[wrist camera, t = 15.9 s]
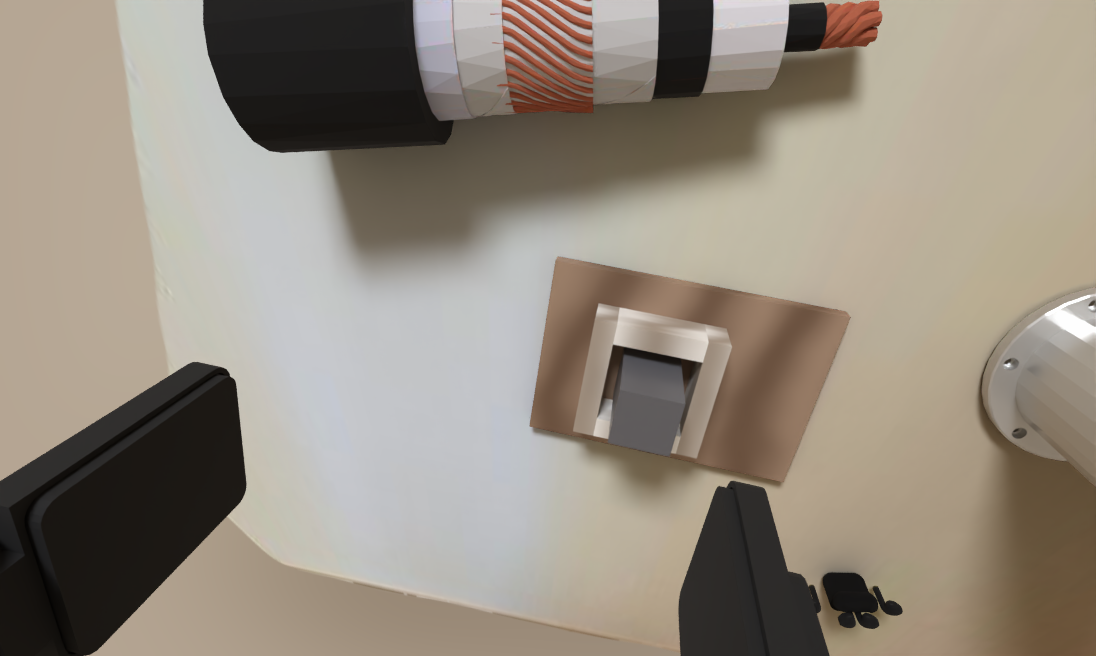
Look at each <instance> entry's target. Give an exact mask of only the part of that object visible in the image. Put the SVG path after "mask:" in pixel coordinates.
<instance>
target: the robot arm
mask: <svg viewBox="0 0 1096 656" xmlns="http://www.w3.org/2000/svg"><path fill="white" fill-rule="evenodd" d="M982 398H983V405H984V407H985V410H986V412H987V414H988V417H989V419H990V420H991V421H992V423H993V424H994V425H995V427H996V428H997V429H998V430H999V431H1000V432H1001V433H1002V434H1003V435H1004V436H1005V437H1006V438H1007V439H1008V440H1009V441H1010V442H1011V443H1013V444H1015V445H1016V446H1018V447H1019V448H1021V449H1023V450H1024V451H1027V452H1029V453H1032V454H1034V455H1037V456H1039V457H1043V458H1048V459H1053V460H1058V461H1068V462H1069V463H1070V464H1071V465H1072V466H1073V467H1074V468H1076V469H1077V470H1078V471H1079V472H1080V473H1081V474H1082V475H1083V476H1084V477H1085V478H1086V479H1087V480H1088V481H1090V482H1091V483H1092V484H1093V485H1094V486H1095V487H1096V287H1093V288H1089V289H1085V290H1082V291H1078V292H1075V293H1071V294H1068V295H1066V296H1063V297H1061V298H1059V299H1057V300H1054V301H1052V302H1050V303H1047V304H1046V305H1044V306H1042V307H1041V308H1039V309H1037V310H1036V311H1034V312H1033V313H1031V314H1029V315H1028V316H1027V317H1025V318H1024V319H1023V320H1022V321H1021V322H1019V323H1018V324H1017V325H1016V326H1014V327H1013V328H1012V329H1011V330H1010V331H1009V332H1008V334H1007V335H1006V336H1005V337H1004V338H1003V339H1002V340H1001V342H1000V343H999V344H998V345H997V347H996V349H995V350H994V352H993V354H992V355H991V357H990V359H989V361H988V364H987V366H986V369H985V372H984V375H983V382H982ZM245 491H246V475H245V466H244V456H243V446H242V436H241V427H240V417H239V407H238V398H237V388H236V382H235V380H234V379H233V378H231V377H230V374H229V372H228V371H227V369H225V368H222V367H218V366H213V365H209V364H204V363H200V362H192V363H190V364H188V365H186V366H184V367H183V368H181V369H180V370H178V371H176V372H175V373H173V374H172V375H170V376H168V377H167V378H165V379H164V380H162V381H160V382H159V383H157V384H156V385H154V386H152V387H151V388H149V389H147V390H146V391H144V392H143V393H141V394H139V395H138V396H136V397H135V398H133V399H131V400H130V401H128V402H127V403H125V404H124V405H122V406H120V407H119V408H117V409H115V410H114V411H112V412H111V413H109V414H107V415H106V416H104V417H102V418H101V419H99V420H98V421H96V422H95V423H93V424H91V425H90V426H88V427H86V428H85V429H83V430H82V431H80V432H78V433H77V434H75V435H74V436H72V437H70V438H69V439H67V440H66V441H64V442H62V443H61V444H59V445H58V446H56V447H54V448H53V449H51V450H50V451H48V452H46V453H45V454H43V455H41V456H40V457H38V458H37V459H35V460H33V461H32V462H30V463H29V464H27V465H25V466H24V467H22V468H21V469H19V470H17V471H16V472H14V473H13V474H11V475H9V476H8V477H6V478H4V479H3V480H1V481H0V656H84V655H85V656H86V655H90V654H92V653H93V652H95V651H97V650H98V649H99V648H100V647H101V646H102V645H103V644H104V643H105V642H106V641H107V640H108V639H109V638H110V637H111V636H112V635H113V634H114V633H115V632H116V631H117V630H118V628H120V626H121V625H122V624H123V623H124V622H125V621H126V620H127V619H128V618H129V617H130V616H131V615H132V614H133V613H134V612H135V611H136V610H137V609H138V608H139V607H140V606H141V605H142V604H143V603H144V602H145V601H146V600H147V598H148V597H149V596H150V595H151V594H152V593H153V592H154V591H155V590H156V589H157V588H158V587H159V586H160V585H161V584H162V583H163V582H164V581H165V580H166V579H167V577H169V576H170V574H172V573H173V572H174V570H175V569H176V568H177V567H178V566H179V565H180V564H181V563H182V562H183V561H184V560H185V559H186V558H187V557H188V556H189V555H190V554H191V553H192V552H193V551H194V550H195V549H196V548H197V547H198V546H199V545H200V544H201V542H202V541H203V540H204V539H205V538H206V537H207V536H208V535H209V534H210V533H211V532H212V531H213V530H214V529H215V528H216V527H217V526H218V525H219V524H220V522H222V521H223V520H224V519H225V518H226V517H227V516H228V515H229V513H230V512H231V511H232V510H233V509H234V508H235V507H236V506H237V505H238V504H239V503H240V502H241V500H242V498H243V496H244V494H245ZM679 632H680V652H681V656H829V652H828V649H827V646H826V643H825V639H824V636H823V633H822V629H821V626H820V623H819V620H818V616H817V613H816V610H815V607H814V603H813V600H812V597H811V594H810V590H809V587H808V585H807V582H806V580H805V578H804V577H803V576H802V575H801V574H797V573H793V572H788V570H787V567H786V563H785V559H784V556H783V552H782V548H781V545H780V541H779V537H778V534H777V530H776V526H775V523H774V519H773V516H772V512H771V508H770V505H769V501H768V497H767V494H766V491H765V489H764V488H763V487H759V486H754V485H750V484H745V483H741V482H736V481H730V483H729V484H728V486H727V488H725V487H721V486H718V487H717V489H716V491H715V493H714V496H713V499H712V502H711V505H710V508H709V511H708V514H707V516H706V519H705V522H704V525H703V528H702V531H701V534H700V537H699V540H698V542H697V545H696V548H695V551H694V554H693V557H692V560H691V563H690V566H689V569H688V571H687V574H686V577H685V580H684V583H683V586H682V589H681V592H680V598H679Z"/></svg>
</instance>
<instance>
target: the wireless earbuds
mask: <svg viewBox="0 0 1096 656" xmlns="http://www.w3.org/2000/svg"><path fill="white" fill-rule="evenodd" d="M823 585H824V588H825V591H826V594H827V597H828V600H829V603H830V606H831V607H832V608H833V609H834V610H837V611H842V612H846V613H842V614H841V615H840V616H839V617H838V620H839V623H840V625H841V626H843V627H846V628H853V627H855V625H856V621H855V618H854V615H853V613H852V612H855V615H856V618H857V620H858V622H859V624H860V625H861V626H863V627H865V628H869V629H875V628H877V627H878V626H879V622H878V619H877V618H876V617H874V616H873V615H871V614H869V613H864V614H863V615H862V614H861V612H870V613H873V612H876V611H877V609H878V602H879V604H880V607H881V609H882V610H883V611H884V612H885V613H886V614H889V615H894V616H897V615H900V614H902V612H903V611H902V608H901V606H900V605H899V604H897V603H896V602H894V601H891V600H889V601H887V602H886V603H885V601H884V599H883V597H882V594H881V592H880V590H879V588H878V586H873V591H874V593H875V595H876V597H877V599H876V598H875V597H874V596H873V595H872V594H871V593H869V591H868V589H867V586H866V584H865V581H864V579H863V578H862V577H861V576H860V575H858V574H856V573H827V574H826V575H825V576H824V577H823ZM809 588H810V592H811V595H812V598H813V599H812V600H813V603H814V607H815V610H816V613H819V612H820V611H821V606H820V603H819V599H818V596H817V593H816V590H815V587H814V585H809ZM877 600H878V602H877Z"/></svg>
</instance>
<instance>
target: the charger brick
mask: <svg viewBox="0 0 1096 656" xmlns="http://www.w3.org/2000/svg"><path fill="white" fill-rule="evenodd" d="M684 407H685V395H684V385H683V376H682V366H681V358H677V357H673V356H668V355H663V354H658V353H653V352H648V351H643V350H638V349H633V348H628V347H624V349H623V353H622V357H621V361H620V366H619V370H618V374H617V378H616V383H615V387H614V394H613V402H612V410H611V419H610V427H609V435H608V443H610V444H615V445H619V446H623V447H628V448H632V449H637V450H641V451H646V452H650V453H654V454H659V455H663V456H668V457H670V454H671V451H672V447H673V444H674V441H675V437H676V434H677V431H678V427H679V424H680V421H681V417H682V414H683V411H684Z"/></svg>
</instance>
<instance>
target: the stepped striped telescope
mask: <svg viewBox="0 0 1096 656" xmlns="http://www.w3.org/2000/svg"><path fill="white" fill-rule="evenodd" d="M878 10H879V1H865V2H860V3H859V4H855V3H851V2H847V3H845V4H843V5H840V4H832V3H830V4H828V5H827V6H825V4H824V2H821V3H806V4H791V5H789V0H203V25H204V31H205V37H206V44H207V50H208V56H209V58H210V61H211V64H212V67H213V70H214V73H215V75H216V78H217V81H218V84H219V87H220V90H221V93H222V95H223V98H224V100H225V101H226V103H227V105H228V106H229V108H230V110H231V112H232V113H233V115H234V117H235V118H236V120H237V122H238V123H239V125H240V126H241V127H242V128H243V130H244V131H245V132H246V133H247V134H248V135H249V137H250V138H251V139H252V140H253V141H254V142H256V143H257V144H259V145H260V146H262V147H264V148H265V149H267V150H269V151H273V152H280V153H285V152H305V151H325V150H344V149H364V148H384V147H404V146H424V145H443V144H445V143H446V142H447V140H448V138H449V137H450V135H451V131H452V126H453V121H454V120H460V119H473V118H477V117H481V116H491V115H507V114H516V113H526V112H544V111H562V112H576V113H593V105H598V104H612V103H631V102H650V101H651V99H659V98H678V97H697V96H699V95H700V94H701V93H714V92H731V91H748V90H765V89H768V88H769V87H770V86H771V84H772V83H773V82H774V80H775V78H776V75H777V73H778V70H779V67H780V64H781V60H782V56H783V52H800V51H815V50H817V49H820V48H821V49H828V48H835V47H839V48H844V47H853V46H864V47H866V46H867V45H868V44H869V43H870V42H873V41H875V40H876V38H877V33H878V30H877V27H876V26H879V25H880V23H881V21H882V13H881V11H878Z"/></svg>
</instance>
